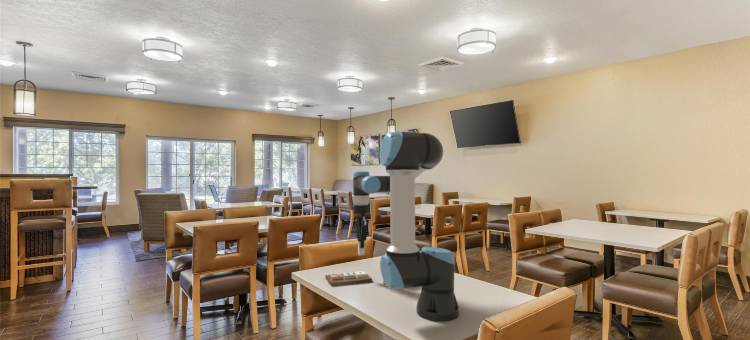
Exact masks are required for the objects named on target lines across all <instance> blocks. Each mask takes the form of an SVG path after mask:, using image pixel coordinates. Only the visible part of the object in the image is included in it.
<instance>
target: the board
mask: <svg viewBox="0 0 750 340" xmlns="http://www.w3.org/2000/svg"><path fill="white" fill-rule="evenodd" d="M355 272H356V271H354V272H352V273H353V274H354V275H355ZM340 274H341V275H342V279H340V280H331V279H330V274H325V280H326V281H327V282H328V285H330V287H338V286H347V285H357V284H365V283H372V282H373V278H372V277H371V276H370V275H369V274H367V277H360V278H356V277H355V278H350V279H344V278H343V273H340Z"/></svg>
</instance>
